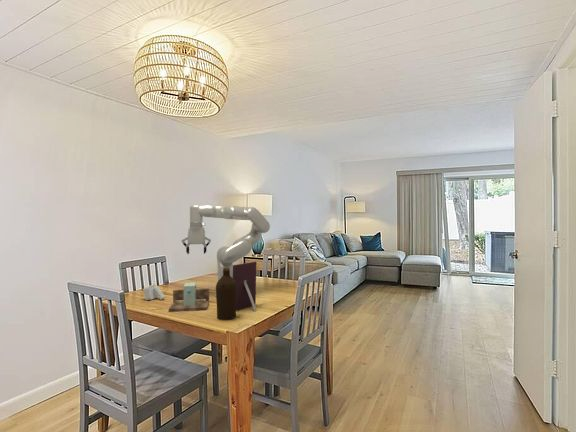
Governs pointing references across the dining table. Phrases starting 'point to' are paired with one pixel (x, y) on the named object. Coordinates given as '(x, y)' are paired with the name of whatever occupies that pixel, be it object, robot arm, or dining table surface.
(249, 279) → the picture frame
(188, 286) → the grey-green rectangular block
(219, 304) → the olive oil
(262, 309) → the dining table surface
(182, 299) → the board
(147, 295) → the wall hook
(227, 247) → the robot arm
